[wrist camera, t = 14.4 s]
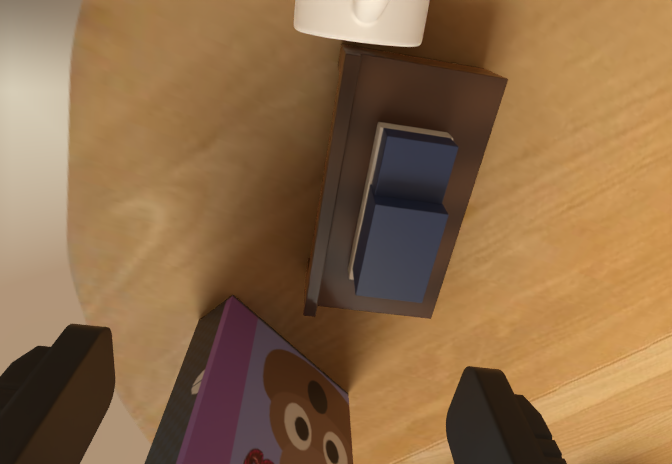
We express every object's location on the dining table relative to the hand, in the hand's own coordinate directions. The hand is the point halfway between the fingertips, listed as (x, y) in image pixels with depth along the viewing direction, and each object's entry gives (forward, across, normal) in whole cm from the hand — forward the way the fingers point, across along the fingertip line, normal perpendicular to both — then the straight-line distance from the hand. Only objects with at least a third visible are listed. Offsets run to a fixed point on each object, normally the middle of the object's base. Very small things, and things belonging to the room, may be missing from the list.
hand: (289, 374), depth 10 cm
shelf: (+28, -7, +5) cm, 29 cm away
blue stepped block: (+23, -7, +5) cm, 25 cm away
